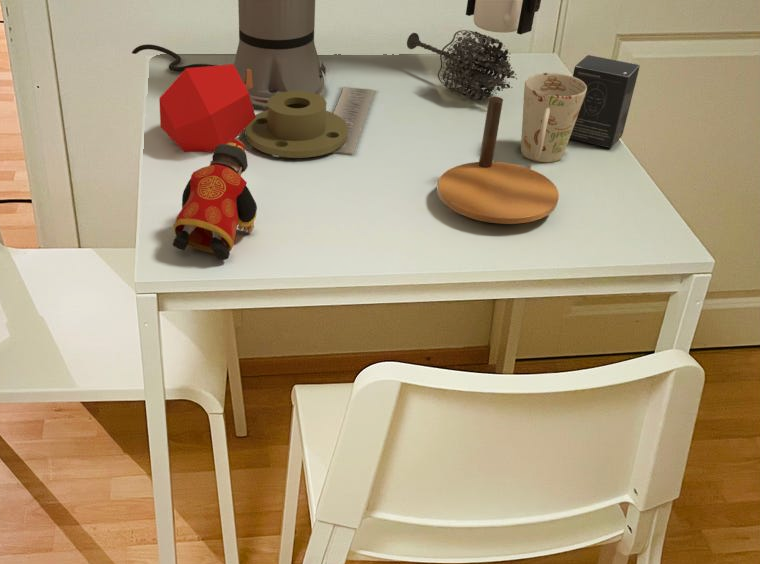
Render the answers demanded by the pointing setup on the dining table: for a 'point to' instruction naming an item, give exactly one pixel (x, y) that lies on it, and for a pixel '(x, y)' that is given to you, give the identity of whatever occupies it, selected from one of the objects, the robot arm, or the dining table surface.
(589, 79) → the box
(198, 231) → the figurine
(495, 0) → the cup
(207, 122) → the red faceted polyhedron
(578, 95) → the mug
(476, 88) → the massage brush
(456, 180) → the wooden disc with post
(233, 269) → the dining table surface
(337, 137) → the flange
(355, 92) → the nameplate
